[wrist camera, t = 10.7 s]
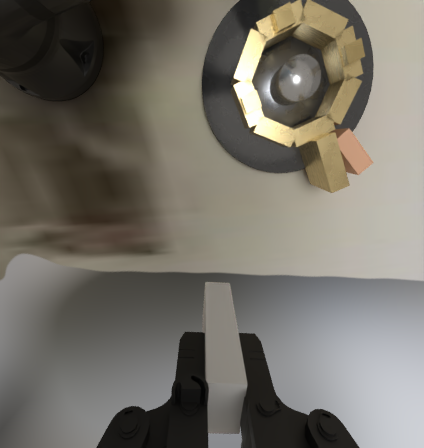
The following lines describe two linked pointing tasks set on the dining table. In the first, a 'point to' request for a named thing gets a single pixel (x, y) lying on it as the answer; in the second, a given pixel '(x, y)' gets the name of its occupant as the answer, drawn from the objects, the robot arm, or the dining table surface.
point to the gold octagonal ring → (333, 100)
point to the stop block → (352, 152)
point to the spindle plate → (260, 81)
